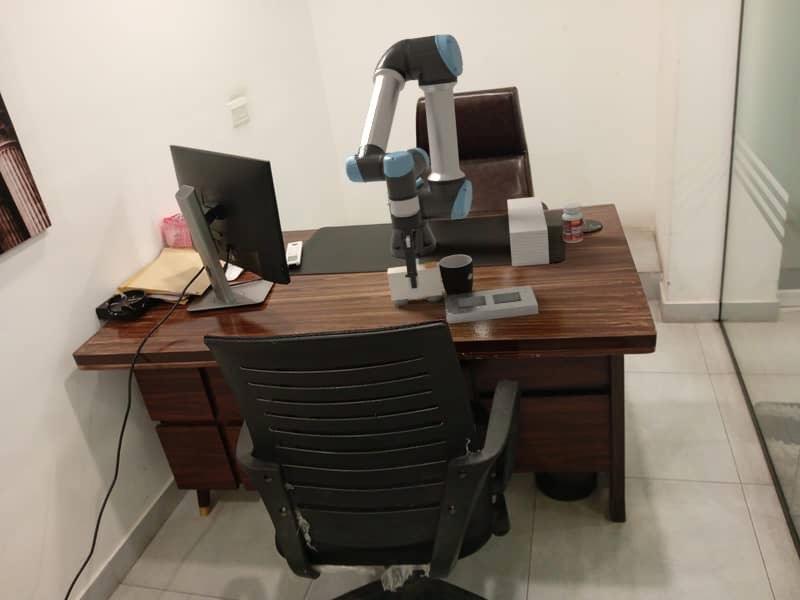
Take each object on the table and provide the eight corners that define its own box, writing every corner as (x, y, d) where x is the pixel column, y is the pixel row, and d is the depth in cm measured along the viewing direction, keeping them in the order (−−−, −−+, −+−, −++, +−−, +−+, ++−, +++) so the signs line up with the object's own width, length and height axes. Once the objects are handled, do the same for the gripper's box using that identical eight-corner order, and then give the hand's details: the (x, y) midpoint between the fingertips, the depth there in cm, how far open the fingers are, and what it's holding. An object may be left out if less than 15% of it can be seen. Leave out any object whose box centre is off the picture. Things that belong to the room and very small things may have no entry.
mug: (473, 301, 179) (470, 266, 175) (440, 302, 182) (436, 268, 177) (478, 282, 190) (475, 249, 186) (447, 283, 192) (443, 251, 188)
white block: (393, 300, 187) (387, 266, 183) (442, 294, 186) (438, 260, 182) (392, 306, 184) (387, 271, 179) (443, 300, 182) (439, 265, 178)
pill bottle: (574, 245, 205) (572, 210, 200) (558, 241, 210) (557, 206, 205) (587, 239, 208) (586, 204, 203) (572, 235, 213) (571, 201, 208)
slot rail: (445, 303, 181) (444, 295, 180) (531, 293, 179) (530, 285, 178) (447, 324, 170) (446, 315, 169) (538, 313, 168) (537, 304, 167)
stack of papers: (509, 230, 226) (507, 199, 221) (541, 227, 224) (540, 196, 219) (512, 267, 197) (509, 232, 193) (549, 264, 195) (547, 229, 191)
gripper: (392, 201, 185) (403, 273, 194) (389, 229, 164) (401, 308, 173) (419, 197, 184) (429, 270, 194) (419, 225, 163) (430, 305, 172)
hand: (416, 288), depth 183 cm, fingers open, 11 cm apart
